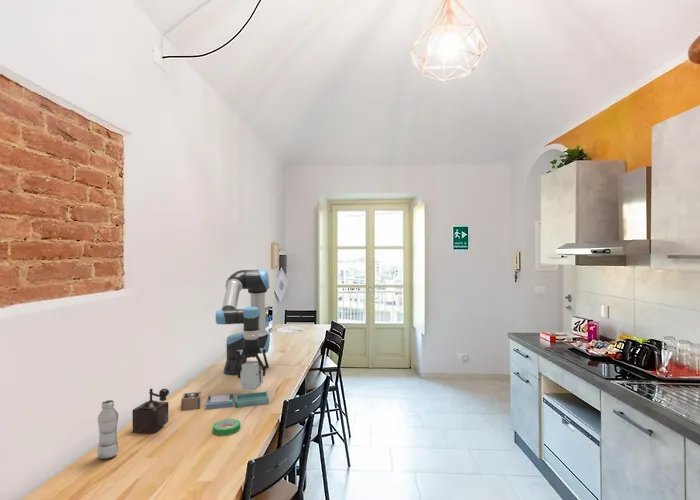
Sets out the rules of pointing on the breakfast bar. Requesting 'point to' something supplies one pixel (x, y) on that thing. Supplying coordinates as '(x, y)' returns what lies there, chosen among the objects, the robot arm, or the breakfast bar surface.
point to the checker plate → (220, 398)
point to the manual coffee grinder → (151, 414)
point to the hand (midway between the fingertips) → (251, 383)
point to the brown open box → (191, 402)
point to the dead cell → (191, 395)
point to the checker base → (219, 405)
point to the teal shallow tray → (251, 399)
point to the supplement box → (251, 375)
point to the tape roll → (226, 431)
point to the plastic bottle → (107, 431)
